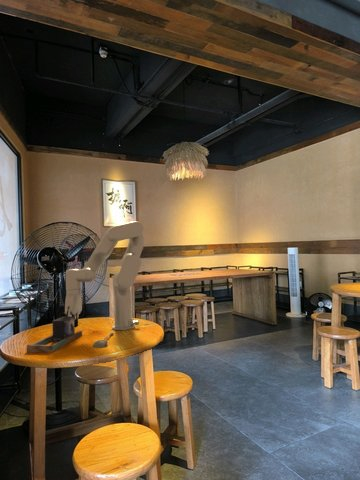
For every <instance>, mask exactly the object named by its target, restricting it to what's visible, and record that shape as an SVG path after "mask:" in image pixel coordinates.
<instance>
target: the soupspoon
mask: <svg viewBox="0 0 360 480" xmlns="http://www.w3.org/2000/svg"><path fill="white" fill-rule="evenodd" d="M110 336H111V337H112V336H114V332H110V333H109V334H108V335H107V336H106V337H104V338H103V339H99V340H97V341H95V342H93V344H92V348H93V349H103V348H106V347H107V345H108V343H109V342H108V341H107V339H108V338H109V337H110Z"/></svg>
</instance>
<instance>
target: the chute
mask: <svg viewBox="0 0 360 480" xmlns="http://www.w3.org/2000/svg"><path fill="white" fill-rule="evenodd" d="M81 337H83V330H79V331H77V332H76V331H75V333H74V334H73V335H71V336H69V337H67V338H65V339H63V340H61V341H59V342H54V343H53V344H49V343H51V342H53V334H50V335H49V336H47V337H43V338H41V339H39V340H38V341H36V342H33V343H32V344H26V353H37V352H39V353H40V354H41V353H42V354H43V353H45V354H47V353H48V354H51V353H53V352H55V351H57V350H59V349H61V348H63V347H64V346H66V345H67V344H70V343H71V342H74V341H75V340H77V339H78V338H81Z"/></svg>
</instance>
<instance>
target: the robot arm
mask: <svg viewBox="0 0 360 480" xmlns="http://www.w3.org/2000/svg"><path fill="white" fill-rule="evenodd" d="M143 232H144V226H143V223H142V222H141V221H137V220H134V221H130V222H125V223H122V224H117V225H114V226H111V227H109V228H108V229H107V230H106V231H105V232H104V235H103V236H102V238H101V239H100V241H99V242H98V244H97V245H96V247H95V248H94V250H93V251H92V253H91V255H90V257H89V258H88V259H87V261H86V262H85V264H84V265H83V267H82V269H79V268H70V269H67V270H66V271H65V290H66V293H65V294H66V295H65V302H64V315H66V316H68V317H74V325H75V328H77V327H79V315H80V314H81V313H82V310H83V302H82V301H83V300H82V283H91V282H94V280H95V279H96V277H97V276H96V275H97V274H96V273H97V272H98V269H99V268H100V267H101V265H102V264H103V263H104V262H105V261H106V260H107V259H109V256H111V254H112V252H113V250H114V249H115V247H116V246H117V244H118V242H121V241H124V240H128V239H129V240H128V245H127V248H126V250H125V252H124V253H123V257H122V258H121V267H120V270H119V271H117V272H115V274H114V275H113V277H112V288H113V306H114V308H113V309H114V311H113V312H114V324H113V325H112V326H111V328H112V329H111V330H114V331H127V330H132V329H134V328H135V327H136V326H139V325H140V322H139V321H138V320H135V319H134V318H133V317H132V316H133V314H132V290H131V288H132V286H133V285H134V283H135V281H136V279H137V276H138V274H139V271H140V268H141V267H142V259H141V255H142V251H143V249H144V245H145V238H144V234H143Z"/></svg>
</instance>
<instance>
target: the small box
mask: <svg viewBox="0 0 360 480" xmlns="http://www.w3.org/2000/svg"><path fill="white" fill-rule="evenodd" d="M75 328H76V327H75V325H74V317H68V315H66V316H64V315H63V316H62V317H59V318H56V319H53V320H52V335H53V341H52V343H57V342H59V341H61V340H63V339H65V338H67V337H69V336H71V335H73V334H74V333H76V331H75V330H76V329H75Z"/></svg>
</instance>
